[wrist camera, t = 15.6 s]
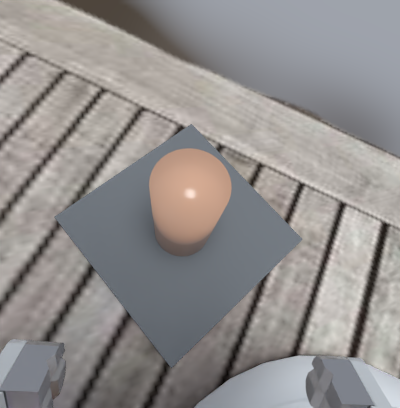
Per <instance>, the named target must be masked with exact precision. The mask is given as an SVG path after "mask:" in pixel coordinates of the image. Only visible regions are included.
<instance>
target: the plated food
mask: <svg viewBox="0 0 400 408" xmlns="http://www.w3.org/2000/svg"><path fill="white" fill-rule="evenodd" d="M315 357H316V356H301V355H298V356H293V357H288V358H284V359H279V360H274V361H270V362H265V363H262V364H260V365H258V366H256V367H254V368H251V369H249V370H247V371H245V372H243V373H241V374H239V375H237V376H234V377H232V378H230V379H229V380H227V381H226V382H225V383H224V384H222V385H221V386H220V387H218V388H217V389H216V390H214V391H213V392H212V393H210V394H209V395H208V396H207V397H205V398H204V399H203V400H201V401H200V402H199V403H197V405H196V406H195V407H194V408H313V407H312V406H311V405H310V403H309V400H308V397H307V394H306V377H307V374H308V372H310V371H311V370H313V369H314V368H313V366H312V361H313V359H314V358H315ZM331 357H334V356H331ZM366 365H367V364H366ZM367 367H368V368H369V370H370V372H371V373H372V375H373V377H374V378H375V380H376V381H377V383H378V385H379V386H380V388H381V390H382V391H383V393H384V395H385V396H386V398H387V400H388V401H389V403H390V405H391V406H392V407H397V408H400V379H398V378H396V377H394V376H392V375H389V374H387V373H385V372H383V371H381V370H379V369H377V368H375V367H373V366H371V365H367Z"/></svg>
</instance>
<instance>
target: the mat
mask: <svg viewBox="0 0 400 408" xmlns="http://www.w3.org/2000/svg"><path fill="white" fill-rule="evenodd" d="M185 148H193V149H199V150H203V151H205V152H208V153H210V154H212V155H213V156H215V157H216V158H217V159H218V160H220V161H221V163H222V164H223V165H224V166H225V168H226V169H227V171H228V173H229V176H230V179H231V187H232V189H231V196H230V199H229V202H228V204H227V206H226V207H225V209H224V211H223V213H222V215H221V217H220V218H219V220H218V222H217V224H216V226H215V227H214V229H213V231H212V233H211V235H210V236H209V238H208V240H207V242H206V244H205V245H204V246H203V248H202V249H201V250H199V251H198V252H196V253H195V254H192V255H189V256H175V255H172V254H169V253H168V252H166V251H165V250H163V249H162V248H161V246H160V245H159V244H158V242H157V240H156V237H155V232H154V224H153V215H152V207H151V198H150V190H149V180H150V175H151V172H152V170H153V168H154V166H155V165H156V164H157V162H158V161H159V160H160V159H161V158H162V157H164V156H165V155H167V154H168V153H170V152H173V151H175V150H179V149H185ZM55 219H56V220H57V221H58V222H59V224H60V225H61V226H62V228H63V229H64V230H65V231H66V233H67V234H68V235H69V237H70V238H71V239H72V240H73V242H74V243H75V244H76V246H77V247H78V248H79V250H80V251H81V252H82V253H83V255H84V256H85V257H86V259H87V260H88V261H89V262H90V264H91V265H92V266H93V268H94V269H95V270H96V271H97V273H98V274H99V275H100V277H101V278H102V279H103V281H104V282H105V283H106V284H107V286H108V287H109V288H110V290H111V291H112V292H113V293H114V295H115V296H116V297H117V299H118V300H119V301H120V303H121V304H122V305H123V306H124V308H125V309H126V310H127V312H128V313H129V314H130V315H131V317H132V318H133V319H134V321H135V322H136V323H137V324H138V326H139V327H140V328H141V330H142V331H143V332H144V334H145V335H146V336H147V337H148V339H149V340H150V341H151V343H152V344H153V345H154V346H155V348H156V349H157V350H158V352H159V353H160V354H161V355H162V357H163V358H164V359H165V361H166V362H167V363H168V365H169V366H170V367H171V368H172V367H173V366H174V365H175V364H176V363H177V362H178V361H179V360H180V359H181V358H182V357H183V356H184V355H185V354H186V353H187V352H188V351H189V350H190V349H191V348H192V347H193V346H194V345H195V344H196V343H197V342H198V341H200V340H201V339H202V338H203V337H204V336H205V335H206V334H207V333H208V332H209V331H210V330H211V329H212V328H213V327H214V326H215V325H216V324H217V323H218V322H219V321H220V320H221V319H222V318H223V317H224V316H225V315H226V314H227V313H228V312H229V311H230V310H231V309H232V308H233V307H234V306H235V305H236V304H237V303H238V302H239V301H240V300H241V299H242V298H243V297H244V296H245V295H246V294H247V293H248V292H249V291H250V290H251V289H252V288H253V287H254V286H255V285H257V284H258V283H259V282H260V281H261V280H262V279H263V278H264V277H265V276H266V275H267V274H268V273H269V272H270V271H271V270H272V269H273V268H274V267H275V266H276V265H277V264H278V263H279V262H280V261H281V260H282V259H283V258H284V257H285V256H286V255H287V254H288V253H289V252H290V251H291V250H292V249H293V248H294V247H295V246H296V245H297V244H298V243H299V242H300V241H301V240H302V238H301V237H300V236H299V235H298V234H297V233H296V232H295V231H294V230H293V229H292V228H291V227H290V226H289V225H288V224H287V223H286V222H285V221H284V220H283V219H282V218H281V217H280V216H279V215H278V213H277V212H276V211H275V210H274V209H273V208H272V207H271V206H270V205H269V204H268V203H267V202H266V201H265V200H264V199H263V198H262V197H261V196H260V195H259V194H258V193H257V192H256V191H255V190H254V189H253V187H252V186H251V185H250V184H249V183H248V182H247V181H246V180H245V179H244V178H243V177H242V176H241V175H240V174H239V173H238V172H237V171H236V170H235V169H234V168H233V167H232V166H231V165H230V164H229V163H228V162H227V160H226V159H225V158H224V157H223V156H222V155H221V154H220V153H219V152H218V151H217V150H216V149H215V148H214V147H213V146H212V145H211V144H210V143H209V142H208V141H207V140H206V139H205V138H204V137H203V136H202V135H201V133H200V132H199V131H198V130H197V129H196V128H195V127H194V126H193V125H192V124H191V125H189V126H188V127H186V128H185V129H183V130H182V131H180V132H179V133H178V134H176V135H175V136H173V137H172V138H170V139H169V140H167V141H166V142H164V143H163V144H161V145H160V146H158V147H157V148H155V149H154V150H152V151H151V152H150V153H148V154H147V155H145V156H144V157H142V158H141V159H139V160H138V161H136V162H135V163H133V164H132V165H130V166H129V167H127V168H126V169H124V170H123V171H122V172H120V173H119V174H117V175H116V176H114V177H113V178H111V179H110V180H108V181H107V182H105V183H104V184H102V185H101V186H99V187H98V188H96V189H95V190H94V191H92V192H91V193H89V194H88V195H86V196H85V197H83V198H82V199H80V200H79V201H77V202H76V203H74V204H73V205H71V206H70V207H68V208H67V209H66V210H64V211H63V212H61V213H60V214H58V215H57V216H55Z"/></svg>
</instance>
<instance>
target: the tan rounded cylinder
mask: <svg viewBox="0 0 400 408" xmlns="http://www.w3.org/2000/svg"><path fill="white" fill-rule="evenodd" d="M231 189H232V187H231V179H230V176H229V173H228V171H227V169H226V168H225V166H224V165H223V164H222V163H221V161H220V160H218V159H217V158H216V157H215V156H213V155H212V154H210V153H208V152H205V151H203V150H199V149H193V148H185V149H179V150H175V151H173V152H170V153H168V154H167V155H165V156H164V157H162V158H161V159H160V160H159V161H158V162H157V164H156V165H155V166H154V168H153V170H152V172H151V175H150V180H149V190H150V198H151V207H152V215H153V224H154V232H155V237H156V240H157V242H158V244H159V245H160V246H161V248H162V249H163V250H165V251H166V252H168V253H169V254H172V255H175V256H189V255H192V254H195V253H196V252H198V251H199V250H201V249H202V248H203V246H204V245H205V244H206V242H207V240H208V238H209V236H210V235H211V233H212V231H213V229H214V227H215V226H216V224H217V222H218V220H219V218H220V217H221V215H222V213H223V211H224V209H225V207H226V206H227V204H228V202H229V199H230V196H231Z"/></svg>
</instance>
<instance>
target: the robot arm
mask: <svg viewBox="0 0 400 408" xmlns="http://www.w3.org/2000/svg"><path fill="white" fill-rule="evenodd" d="M64 351H65V349H64V343H57V342H45V341H32V340H17V339H12V340H11V341H9V342H8V343H7V344H6V346H5V347H4V349H3V350H2V352H1V353H0V408H53V401H52V400H53V399H55V398H56V397H57V396H58V395H59V393H60V391H61V388H62V385H63V381H64V377H65V371H66V361H65V360H64V359H63V358H62V356H63V354H64ZM312 366H313V368H314V369H313V370H311V371H310V372H308V374H307V377H306V394H307V397H308V400H309V403H310V405H311V406H312V407H313V408H397V407H392V406H391V405H390V403H389V401H388V400H387V398H386V396H385V395H384V393H383V391H382V390H381V388H380V386H379V385H378V383H377V381H376V380H375V378H374V377H373V375H372V373H371V372H370V370H369V368H368V367H367V365H366V363H365V362H364V361H363V360H362V359H361V358H348V357H331V356H316V357H315V358H314V359H313V361H312Z"/></svg>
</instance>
